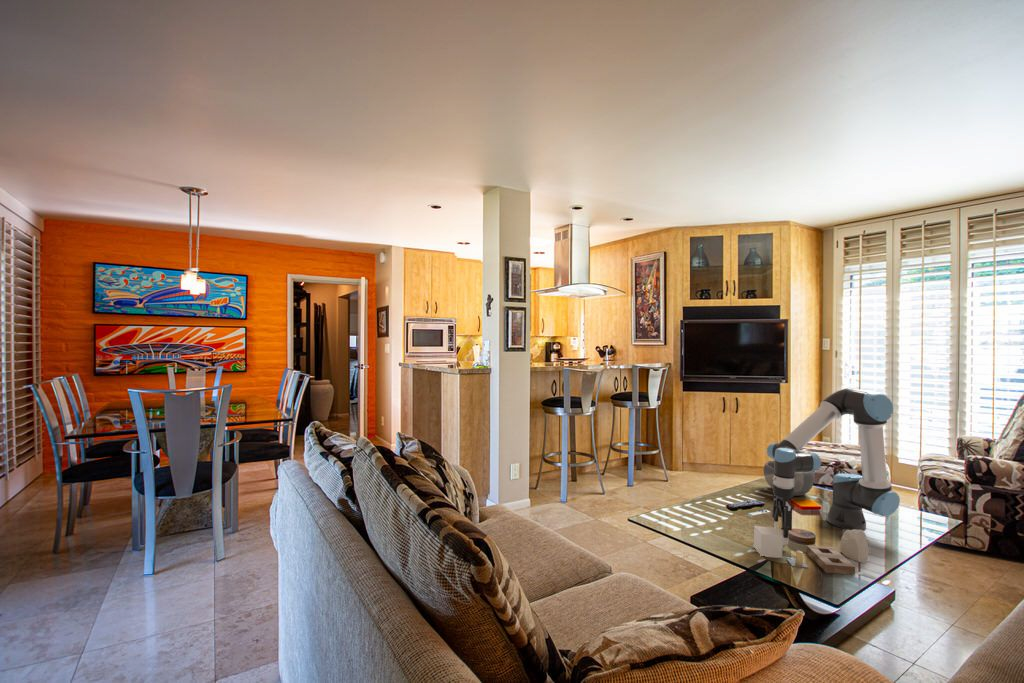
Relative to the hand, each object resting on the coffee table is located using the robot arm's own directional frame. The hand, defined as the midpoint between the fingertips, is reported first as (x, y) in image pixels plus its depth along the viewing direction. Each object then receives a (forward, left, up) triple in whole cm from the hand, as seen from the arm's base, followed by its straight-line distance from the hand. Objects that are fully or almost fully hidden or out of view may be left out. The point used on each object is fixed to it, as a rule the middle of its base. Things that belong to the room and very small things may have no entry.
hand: (780, 540), depth 208 cm
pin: (0, 0, -2) cm, 2 cm away
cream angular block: (0, +16, -2) cm, 16 cm away
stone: (-25, +6, -2) cm, 26 cm away
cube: (+8, +8, -2) cm, 11 cm away
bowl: (-30, -70, -2) cm, 76 cm away
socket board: (-13, +13, -2) cm, 18 cm away
